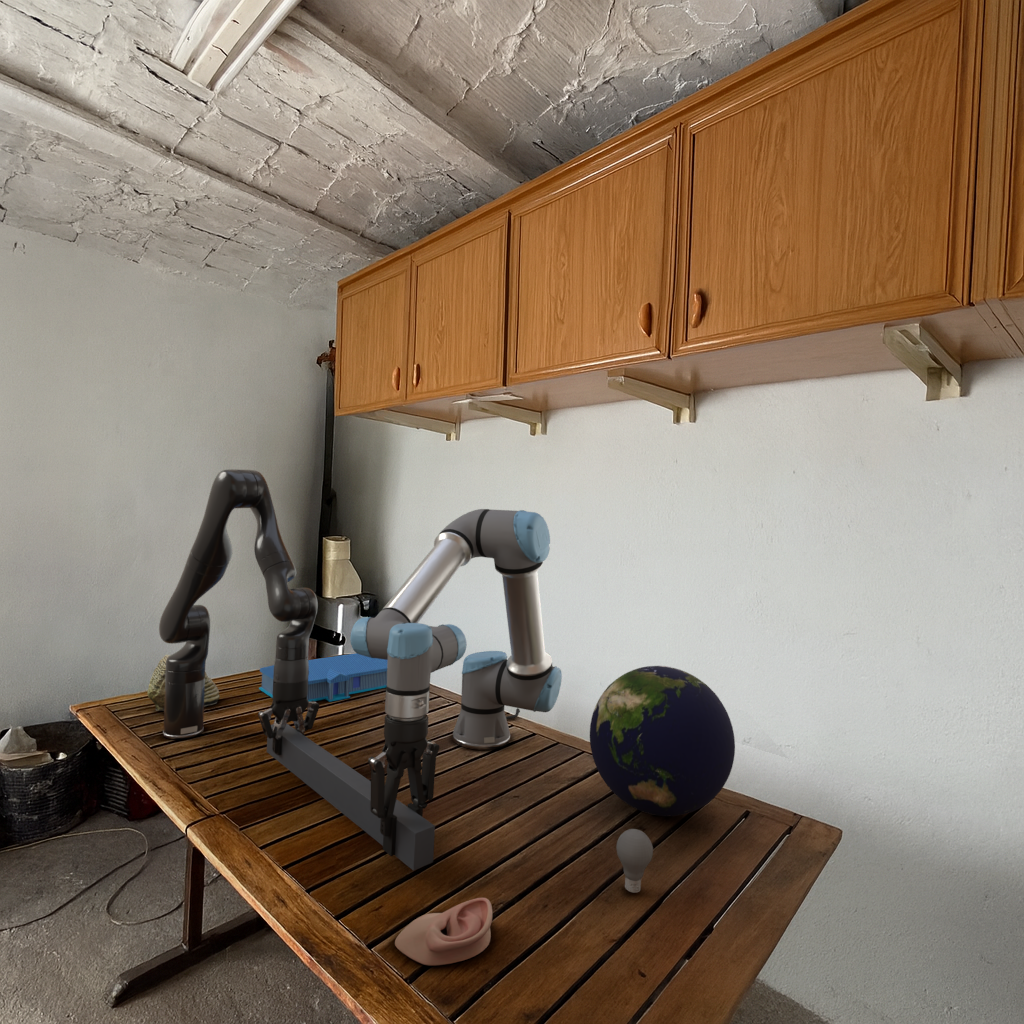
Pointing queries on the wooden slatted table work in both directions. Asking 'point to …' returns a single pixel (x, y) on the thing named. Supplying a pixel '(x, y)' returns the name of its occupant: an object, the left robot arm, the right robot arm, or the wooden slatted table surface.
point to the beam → (354, 796)
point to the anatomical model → (448, 934)
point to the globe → (662, 740)
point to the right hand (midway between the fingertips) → (400, 847)
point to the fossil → (158, 687)
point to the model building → (337, 677)
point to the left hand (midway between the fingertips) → (287, 751)
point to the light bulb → (634, 857)
